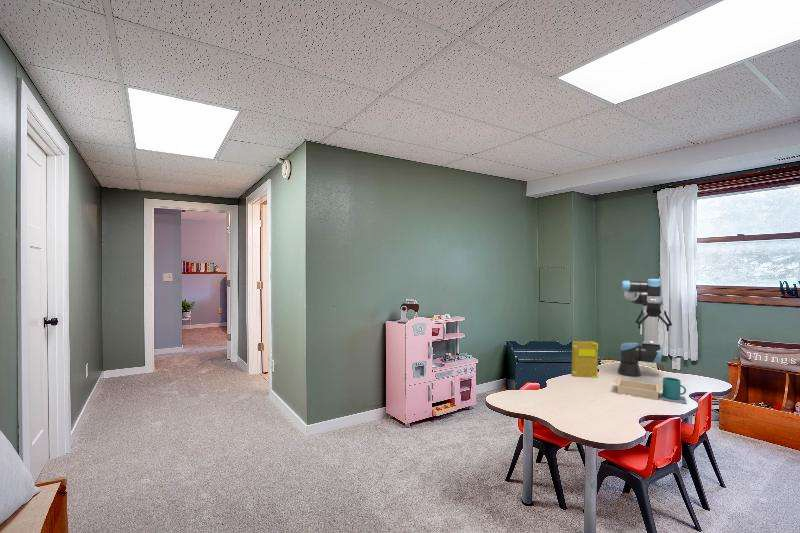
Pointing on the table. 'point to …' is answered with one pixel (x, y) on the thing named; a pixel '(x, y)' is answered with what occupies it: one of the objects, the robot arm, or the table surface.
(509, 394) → the table surface
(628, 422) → the table surface
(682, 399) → the mat
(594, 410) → the table surface
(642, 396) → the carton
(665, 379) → the cup
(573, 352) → the book
